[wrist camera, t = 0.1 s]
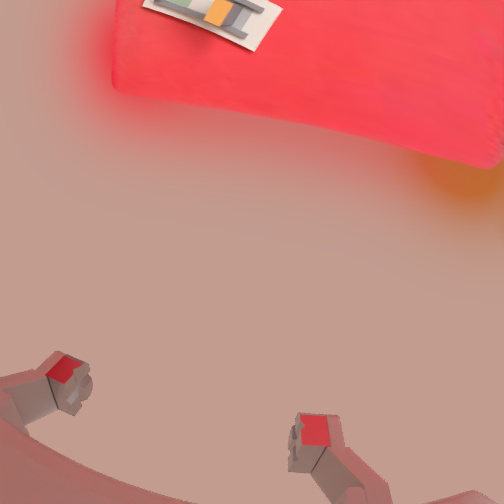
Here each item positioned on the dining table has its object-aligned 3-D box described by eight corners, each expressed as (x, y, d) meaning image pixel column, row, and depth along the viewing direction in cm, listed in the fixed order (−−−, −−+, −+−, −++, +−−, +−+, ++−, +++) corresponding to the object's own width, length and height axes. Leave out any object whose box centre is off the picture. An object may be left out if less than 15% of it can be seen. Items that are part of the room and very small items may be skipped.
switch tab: (244, 6, 38) (232, 3, 31) (233, 25, 40) (218, 26, 33) (231, 0, 37) (216, -4, 30) (220, 19, 40) (203, 19, 33)
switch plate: (283, 8, 38) (281, 7, 36) (255, 50, 45) (251, 52, 42) (167, -36, 32) (158, -39, 30) (145, 6, 39) (136, 6, 36)
